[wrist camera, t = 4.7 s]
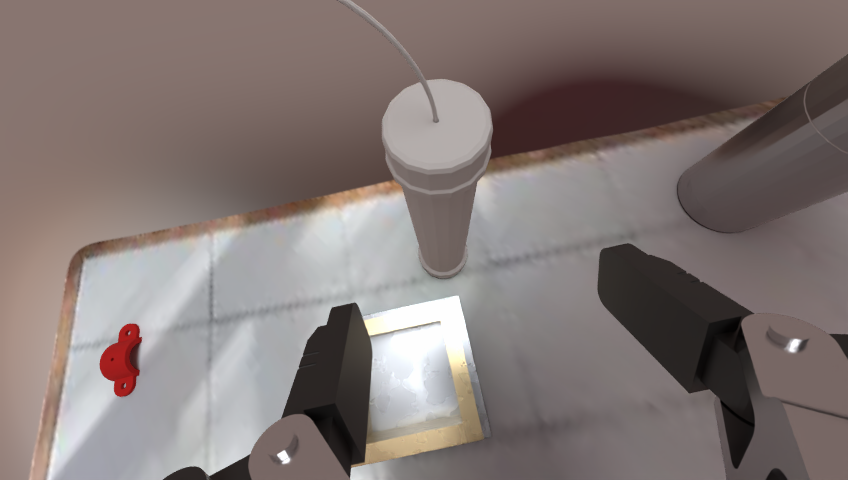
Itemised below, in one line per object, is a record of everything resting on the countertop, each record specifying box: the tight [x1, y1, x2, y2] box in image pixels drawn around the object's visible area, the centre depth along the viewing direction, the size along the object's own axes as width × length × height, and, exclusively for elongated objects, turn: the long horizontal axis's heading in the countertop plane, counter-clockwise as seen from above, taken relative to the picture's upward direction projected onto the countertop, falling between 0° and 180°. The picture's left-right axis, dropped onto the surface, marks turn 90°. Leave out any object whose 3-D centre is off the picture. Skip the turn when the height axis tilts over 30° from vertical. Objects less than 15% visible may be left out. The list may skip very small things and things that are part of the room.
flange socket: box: [351, 295, 492, 468], centre depth 31 cm, size 14×14×5 cm
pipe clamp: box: [100, 324, 142, 397], centre depth 35 cm, size 8×3×2 cm, turn 13°
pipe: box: [337, 0, 493, 279], centre depth 23 cm, size 6×6×30 cm
